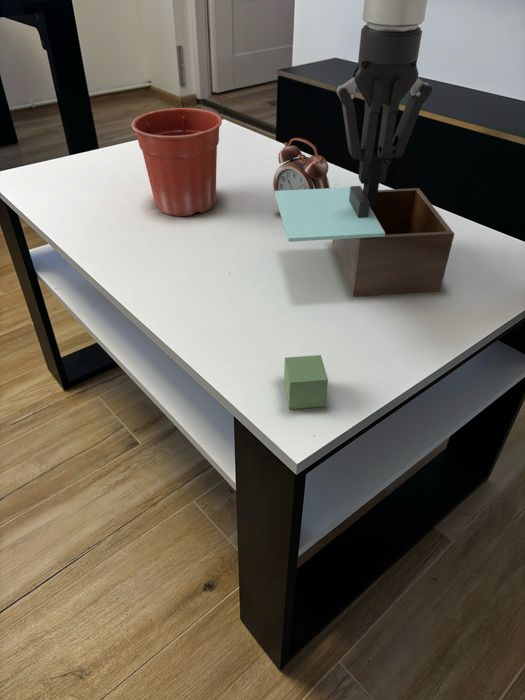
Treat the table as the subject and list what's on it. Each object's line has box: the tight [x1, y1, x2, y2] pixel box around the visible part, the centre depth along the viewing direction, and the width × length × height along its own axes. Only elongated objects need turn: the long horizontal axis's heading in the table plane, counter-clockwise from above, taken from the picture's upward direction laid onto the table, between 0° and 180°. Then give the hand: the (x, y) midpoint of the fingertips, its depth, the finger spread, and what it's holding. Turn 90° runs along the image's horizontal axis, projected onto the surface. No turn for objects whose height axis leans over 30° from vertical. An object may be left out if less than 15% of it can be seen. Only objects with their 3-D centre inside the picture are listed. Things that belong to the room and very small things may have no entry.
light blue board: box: [274, 185, 385, 243], centre depth 82 cm, size 16×14×3 cm
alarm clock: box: [272, 137, 331, 194], centre depth 99 cm, size 11×5×15 cm, turn 45°
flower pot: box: [131, 107, 223, 217], centre depth 104 cm, size 16×16×16 cm
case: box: [331, 187, 455, 297], centre depth 87 cm, size 16×14×10 cm
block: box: [283, 354, 329, 410], centre depth 66 cm, size 4×4×4 cm
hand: (368, 202), depth 83 cm, fingers closed
